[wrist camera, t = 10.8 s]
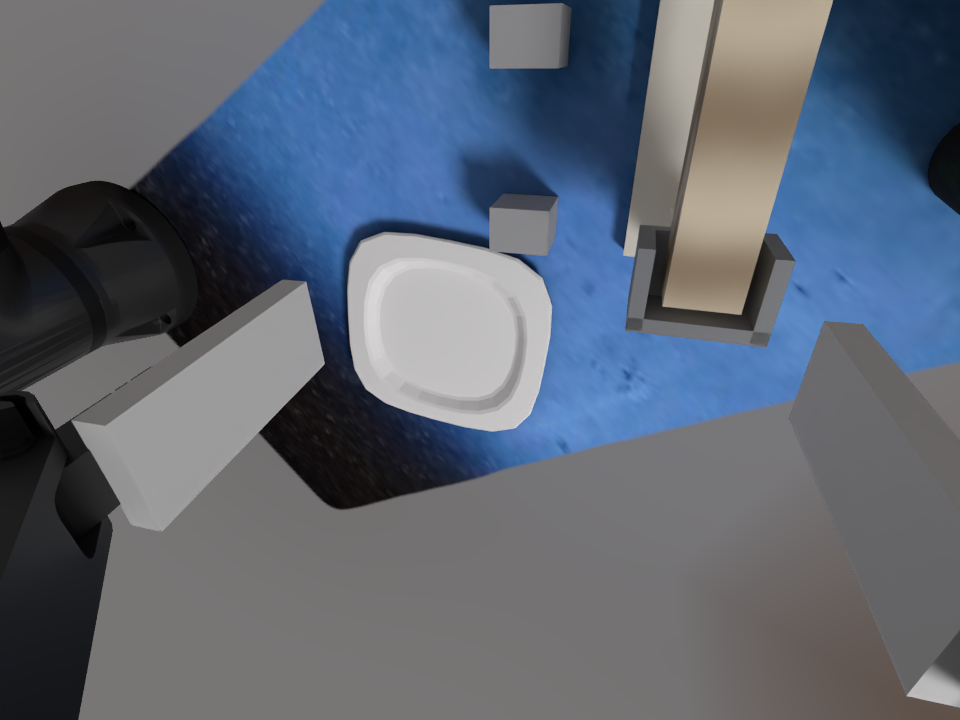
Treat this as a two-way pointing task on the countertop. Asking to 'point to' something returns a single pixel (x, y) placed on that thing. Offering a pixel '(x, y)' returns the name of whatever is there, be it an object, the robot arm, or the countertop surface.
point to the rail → (738, 146)
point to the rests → (516, 45)
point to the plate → (448, 329)
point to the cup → (947, 170)
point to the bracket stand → (657, 190)
